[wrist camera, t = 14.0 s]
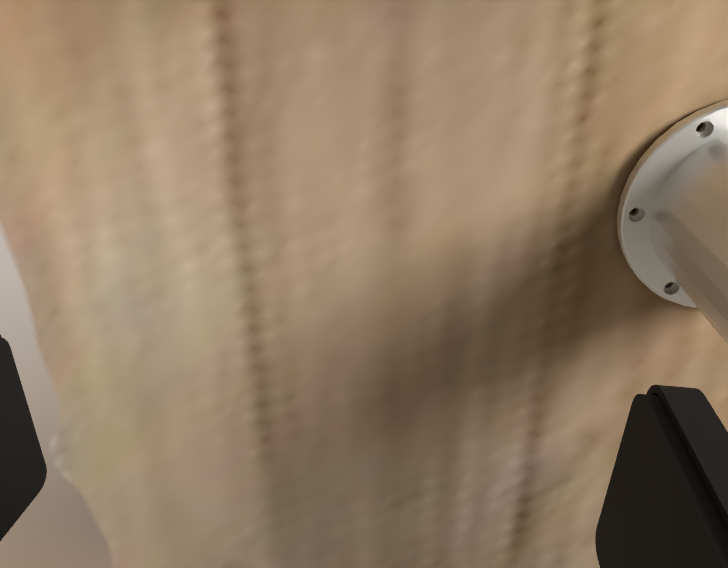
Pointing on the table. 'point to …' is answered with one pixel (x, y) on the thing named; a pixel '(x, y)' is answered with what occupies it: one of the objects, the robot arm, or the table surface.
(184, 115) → the table surface
